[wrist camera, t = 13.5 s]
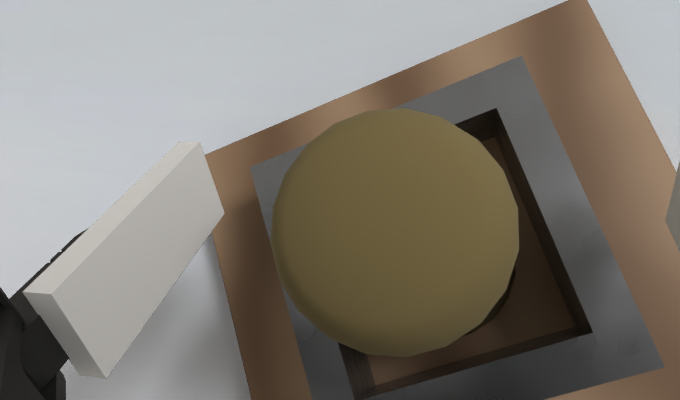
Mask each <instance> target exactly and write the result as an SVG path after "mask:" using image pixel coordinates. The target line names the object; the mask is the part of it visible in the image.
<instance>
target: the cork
mask: <svg viewBox="0 0 680 400" xmlns="http://www.w3.org/2000/svg"><path fill="white" fill-rule="evenodd" d="M270 244H271V248H272V252H273V256H274V261H275V265H276V269H277V273H278V277H279V280H280V282H281V283H282V285H283V287H284V288H285V290H286V292H287V293H288V295H289V297H290V298H291V300H292V302H293V303H294V305H295V307H296V309H297V310H298V311H299V312H300V313H301V314H302V315H303V316H305V317H306V318H307V319H308V320H309V321H310V322H311V323H313V324H314V325H315V326H316V327H317V328H318V329H319V330H320V331H322V332H323V333H324V334H325V335H326V336H328V337H329V338H330V339H332V340H334V341H337V342H339V343H341V344H344V345H346V346H348V347H351V348H353V349H356V350H358V351H360V352H363V353H365V354H370V355H384V356H398V357H409V356H413V355H417V354H421V353H424V352H428V351H432V350H436V349H439V348H443V347H447V346H448V345H450V344H451V343H453V342H454V341H456V340H457V339H459V338H460V337H462V336H465V335H469V334H472V333H473V332H475V331H476V330H478V329H479V328H481V327H482V326H484V325H485V324H487V323H488V322H490V321H491V320H493V318H494V317H495V316H496V314H497V313H498V312H499V310H500V309H501V308H502V306H503V305H504V304H505V302H506V301H507V300H508V297H509V294H510V291H511V288H512V285H513V281H514V278H515V275H516V271H515V261H516V258H517V255H518V252H519V226H518V207H517V204H516V202H515V199H514V196H513V194H512V191H511V188H510V186H509V183H508V181H507V178H506V175H505V173H504V170H503V169H502V168H501V167H500V165H499V164H498V163H497V162H496V161H495V159H494V158H493V157H492V156H491V155H490V153H489V152H488V151H487V150H486V149H485V147H484V146H483V145H482V144H481V143H480V141H479V140H477V139H476V138H474V137H473V136H471V135H470V134H468V133H466V132H465V131H463V130H461V129H460V128H458V127H457V126H455V125H453V124H452V123H450V122H449V121H447V120H445V119H444V118H442V117H440V116H436V115H432V114H427V113H423V112H419V111H415V110H411V109H407V108H398V109H383V110H368V111H366V112H363V113H360V114H358V115H355V116H353V117H350V118H347V119H345V120H342V121H339V122H337V123H334V124H333V125H332V126H330V127H329V128H328V129H327V130H325V131H324V132H323V133H321V134H320V135H319V136H317V137H316V138H315V139H313V140H312V141H311V142H310V143H308V144H307V145H306V146H305V147H304V149H303V150H302V151H301V153H300V154H299V155H298V157H297V158H296V160H295V161H294V162H293V164H292V165H291V166H290V168H289V169H288V170H287V172H286V173H285V175H284V178H283V181H282V183H281V186H280V189H279V192H278V194H277V197H276V200H275V202H274V205H273V210H272V226H271V242H270Z"/></svg>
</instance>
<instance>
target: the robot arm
mask: <svg viewBox="0 0 680 400" xmlns="http://www.w3.org/2000/svg"><path fill="white" fill-rule="evenodd" d="M224 214H225V213H224V210H223V207H222V204H221V201H220V199H219V196H218V193H217V190H216V187H215V184H214V181H213V178H212V175H211V173H210V170H209V167H208V164H207V161H206V158H205V155H204V152H203V150H202V147H201V144H200V142H178V143H177V144H176V145H175V146H174V147H173V148H172V149H171V150H170V151H169V152H168V153H167V154H166V155H165V156H163V157H162V158H161V159H160V160H159V161H158V162H157V163H156V164H155V165H154V166H153V167H152V168H151V169H150V170H149V171H148V172H147V173H146V174H145V175H144V176H143V177H142V178H141V179H139V180H138V181H137V182H136V183H135V184H134V185H133V186H132V187H131V188H130V189H129V190H128V191H127V192H126V193H125V194H124V195H123V196H122V197H121V198H120V199H119V200H118V201H117V202H116V203H114V204H113V205H112V206H111V207H110V208H109V209H108V210H107V211H106V212H105V213H104V214H103V215H102V216H101V217H100V218H99V219H98V220H97V221H96V222H95V223H94V224H93V225H92V226H90V227H89V228H88V229H86V230H85V231H83V232H82V233H80V234H78V235H77V236H75V237H74V238H73V239H72V240H71V241H70V242H69V243H68V244H67V245H66V246H65V247H64V248H63V249H61V250H62V252H58V253H57V254H56V255H55V256H54V257H53V258H52V259H51V260H50V263H47V264H46V265H45V266H44V267H42V268H41V269H40V270H39V271H38V272H37V273H36V274H35V275H34V276H33V277H32V278H31V279H30V280H29V281H28V282H27V283H26V284H25V285H23V286H22V287H21V288H20V289H19V290H18V291H17V292H16V293H15V294H14V295H13V296H12V297H11V298H10V299H8V297H7V296H6V295H5V293H4V292H3V290H2V289H1V288H0V400H66V381H65V378H64V375H63V374H62V372H61V371H60V369H61V367H62V366H63V365H64V364H65V362H66V361H67V360H68V359H69V360H70V361H71V363H72V364H73V366H74V367H75V369H76V370H77V372H78V373H79V374H80V375H83V376H91V377H99V378H107V377H108V375H109V374H110V373H111V371H112V370H113V368H114V367H115V366H116V364H117V363H118V361H119V360H120V359H121V357H122V356H123V354H124V353H125V352H126V350H127V349H128V347H129V346H130V345H131V343H132V342H133V341H134V339H135V338H136V336H137V335H138V334H139V332H140V331H141V329H142V328H143V327H144V325H145V324H146V322H147V321H148V320H149V318H150V317H151V315H152V314H153V313H154V311H155V310H156V308H157V307H158V306H159V304H160V303H161V301H162V300H163V299H164V297H165V296H166V295H167V293H168V292H169V290H170V289H171V288H172V286H173V285H174V283H175V282H176V281H177V279H178V278H179V276H180V275H181V274H182V272H183V271H184V269H185V268H186V267H187V265H188V264H189V262H190V261H191V260H192V258H193V257H194V255H195V254H196V253H197V251H198V250H199V248H200V247H201V246H202V244H203V243H204V242H205V240H206V239H207V237H208V236H209V235H210V233H211V232H212V230H213V229H214V228H215V226H216V225H217V223H218V222H219V221H220V219H221V218H222V216H223V215H224ZM665 221H666V223H667V226H668V228H669V230H670V232H671V234H672V236H673V239H674V241H675V243H676V245H677V247H678V249H679V252H680V162H679V166H678V170H677V174H676V178H675V182H674V186H673V190H672V194H671V198H670V202H669V206H668V211H667V215H666V219H665Z"/></svg>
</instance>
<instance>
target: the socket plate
mask: <svg viewBox="0 0 680 400" xmlns="http://www.w3.org/2000/svg"><path fill="white" fill-rule="evenodd" d="M398 108H407V109H411V110H415V111H419V112H423V113H427V114H432V115H436V116H440V117H442V118H444V119H445V120H447V121H449V122H450V123H452V124H453V125H455V126H457V127H458V128H460V129H461V130H463V131H465V132H466V133H468V134H470V135H471V136H473V137H474V138H476V139H477V140H479V141H480V143H481V144H482V145H483V146H484V147H485V149H486V150H487V151H488V152H489V153H490V155H491V156H492V157H493V158H494V159H495V161H496V162H497V163H498V164H499V165H500V167H501V168H502V169H503V170H504V173H505V175H506V178H507V181H508V183H509V186H510V188H511V191H512V194H513V196H514V199H515V202H516V204H517V207H518V226H519V252H518V255H517V258H516V261H515V271H516V275H515V278H514V281H513V285H512V288H511V291H510V294H509V297H508V300H507V301H506V302H505V304H504V305H503V306H502V308H501V309H500V310H499V312H498V313H497V314H496V316H495V317H494V318H493V320H491V321H490V322H488V323H487V324H485V325H484V326H482V327H481V328H479V329H478V330H476V331H475V332H473V333H472V334H469V335H465V336H462V337H460V338H459V339H457V340H456V341H454V342H453V343H451V344H450V345H448V346H447V347H443V348H439V349H436V350H432V351H428V352H424V353H421V354H417V355H413V356H409V357H398V356H384V355H370V354H365V353H363V352H360V351H358V350H356V349H353V348H351V347H348V346H346V345H344V344H341V343H339V342H337V341H334V340H332V339H330V338H329V337H328V336H326V335H325V334H324V333H323V332H322V331H320V330H319V329H318V328H317V327H316V326H315V325H314V324H313V323H311V322H310V321H309V320H308V319H307V318H306V317H305V316H303V315H302V314H301V313H300V312H299V311H298V310H297V309H296V307H295V305H294V303H293V302H292V300H291V298H290V297H289V295H288V293H287V292H286V290H285V288H284V287H283V285H282V283H281V282H280V280H279V277H278V273H277V269H276V265H275V261H274V256H273V252H272V248H271V244H270V242H271V226H272V210H273V205H274V202H275V200H276V197H277V194H278V192H279V189H280V186H281V183H282V181H283V178H284V175H285V173H286V172H287V170H288V169H289V168H290V166H291V165H292V164H293V162H294V161H295V160H296V158H297V157H298V155H299V154H300V153H301V151H302V150H303V149H304V147H305V146H306V145H307V144H308V143H310V142H311V141H312V140H313V139H315V138H316V137H317V136H319V135H320V134H321V133H323V132H324V131H325V130H327V129H328V128H329V127H330V126H332V125H333V124H334V123H337V122H339V121H342V120H345V119H347V118H350V117H353V116H355V115H358V114H360V113H363V112H366V111H368V110H383V109H398ZM205 158H206V161H207V164H208V167H209V170H210V173H211V175H212V178H213V181H214V184H215V187H216V190H217V193H218V196H219V199H220V201H221V204H222V207H223V210H224V213H225V214H224V215H223V216H222V218H221V219H220V221H219V222H218V223H217V225H216V226H215V228H214V229H213V230H212V235H213V239H214V243H215V247H216V252H217V256H218V260H219V264H220V268H221V273H222V277H223V281H224V285H225V289H226V294H227V298H228V302H229V306H230V310H231V315H232V319H233V323H234V327H235V331H236V335H237V340H238V344H239V348H240V352H241V356H242V361H243V365H244V369H245V373H246V377H247V382H248V386H249V390H250V394H251V398H252V400H680V252H679V249H678V247H677V245H676V243H675V241H674V239H673V236H672V234H671V232H670V230H669V228H668V226H667V223H666V221H665V219H666V215H667V211H668V206H669V202H670V198H671V194H672V190H673V186H674V182H675V178H676V174H677V172H676V170H675V168H674V167H673V165H672V163H671V161H670V159H669V157H668V155H667V153H666V151H665V149H664V147H663V145H662V143H661V142H660V140H659V138H658V136H657V134H656V132H655V130H654V128H653V126H652V124H651V122H650V120H649V118H648V116H647V115H646V113H645V111H644V109H643V107H642V105H641V103H640V101H639V99H638V97H637V95H636V93H635V91H634V90H633V88H632V86H631V84H630V82H629V80H628V78H627V76H626V74H625V72H624V70H623V68H622V66H621V65H620V63H619V61H618V59H617V57H616V55H615V53H614V51H613V49H612V47H611V45H610V43H609V41H608V39H607V38H606V36H605V34H604V32H603V30H602V28H601V26H600V24H599V22H598V20H597V18H596V16H595V14H594V13H593V11H592V9H591V7H590V5H589V3H588V1H587V0H568V1H566V2H563V3H561V4H558V5H556V6H554V7H551V8H549V9H547V10H544V11H542V12H540V13H537V14H535V15H533V16H530V17H528V18H526V19H523V20H521V21H519V22H516V23H514V24H511V25H509V26H507V27H504V28H502V29H500V30H497V31H495V32H493V33H490V34H488V35H486V36H483V37H481V38H479V39H476V40H474V41H472V42H469V43H467V44H464V45H462V46H460V47H457V48H455V49H453V50H450V51H448V52H446V53H443V54H441V55H439V56H436V57H434V58H432V59H429V60H427V61H425V62H422V63H420V64H417V65H415V66H413V67H410V68H408V69H406V70H403V71H401V72H399V73H396V74H394V75H392V76H389V77H387V78H385V79H382V80H380V81H377V82H375V83H373V84H370V85H368V86H366V87H363V88H361V89H359V90H356V91H354V92H352V93H349V94H347V95H345V96H342V97H340V98H338V99H335V100H333V101H330V102H328V103H326V104H323V105H321V106H319V107H316V108H314V109H312V110H309V111H307V112H305V113H302V114H300V115H298V116H295V117H293V118H291V119H288V120H286V121H283V122H281V123H279V124H276V125H274V126H272V127H269V128H267V129H265V130H262V131H260V132H258V133H255V134H253V135H251V136H248V137H246V138H244V139H241V140H239V141H236V142H234V143H232V144H229V145H227V146H225V147H222V148H220V149H218V150H215V151H213V152H211V153H208V154H206V155H205Z"/></svg>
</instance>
